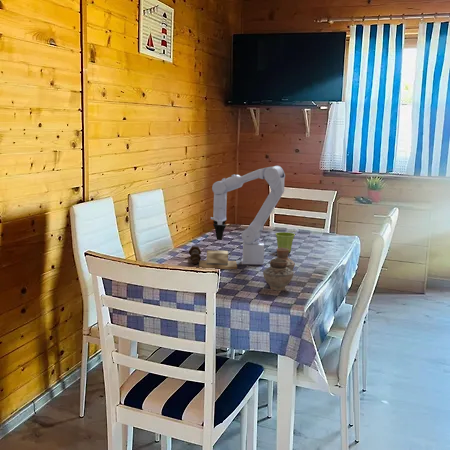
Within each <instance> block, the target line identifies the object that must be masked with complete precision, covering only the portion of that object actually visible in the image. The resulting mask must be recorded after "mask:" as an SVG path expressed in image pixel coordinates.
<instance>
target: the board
mask: <svg viewBox="0 0 450 450" xmlns="http://www.w3.org/2000/svg"><path fill="white" fill-rule="evenodd" d="M199 267H202V268H201V269H206V268H220V269H219V270H238V264H237V261H236V260H228V265H207V259H205V260H202V259H200V261H199V263H198V268H199Z"/></svg>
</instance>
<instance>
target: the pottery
mask: <svg viewBox="0 0 450 450" xmlns="http://www.w3.org/2000/svg"><path fill="white" fill-rule="evenodd" d="M275 251H276V254H277V255H276V256H277V257H275V258H271V259H270V261H269V267H267V268H265V269H263V271H262V275H263V278H264V281H265V282H266V283H267V284H268V285H269V289H270V290H273V291H280V292H281V291H284V290H286V287H287V286H288V285H289V284H290V282H291V281H292V279H293V277H294V272H293V270H294V268H295V266H296V263H295V262H294V260H292V259H291V258H289V253H290V252H289V249H288V248H278V247H277V248H276V250H275Z"/></svg>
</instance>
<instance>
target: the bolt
mask: <svg viewBox="0 0 450 450" xmlns="http://www.w3.org/2000/svg"><path fill="white" fill-rule="evenodd" d="M188 254H189V255H190V256H189V260H190V261H191V263H192V264H194V265H197V264H199V261H200V260H202V257H201V255H202V251H201V249H200V247H199V246H198V245H197V246H196V245H195V246H191V247H190V248H189V250H188Z"/></svg>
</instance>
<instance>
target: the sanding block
mask: <svg viewBox="0 0 450 450" xmlns="http://www.w3.org/2000/svg"><path fill="white" fill-rule="evenodd" d="M206 260H207V265H228V261H229V251H228V250H209V249H208V250H206Z"/></svg>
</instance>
